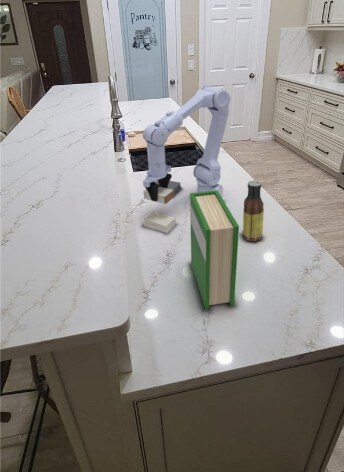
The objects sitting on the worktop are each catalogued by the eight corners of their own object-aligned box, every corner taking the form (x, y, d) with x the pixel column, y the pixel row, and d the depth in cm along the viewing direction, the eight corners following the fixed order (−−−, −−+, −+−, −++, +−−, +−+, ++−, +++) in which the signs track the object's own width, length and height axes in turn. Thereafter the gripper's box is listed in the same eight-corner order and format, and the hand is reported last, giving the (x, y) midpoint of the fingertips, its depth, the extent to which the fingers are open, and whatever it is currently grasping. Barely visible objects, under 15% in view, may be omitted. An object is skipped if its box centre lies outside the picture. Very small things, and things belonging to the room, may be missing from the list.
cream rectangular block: (176, 224, 117) (176, 217, 115) (167, 233, 112) (166, 226, 111) (153, 218, 121) (152, 211, 120) (143, 226, 117) (142, 219, 115)
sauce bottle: (263, 233, 110) (269, 180, 101) (259, 244, 105) (265, 189, 96) (244, 229, 112) (247, 177, 103) (239, 239, 107) (243, 185, 98)
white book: (174, 197, 116) (173, 189, 114) (165, 204, 112) (165, 196, 110) (152, 192, 120) (152, 184, 119) (143, 198, 116) (143, 191, 115)
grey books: (182, 189, 141) (181, 182, 140) (172, 197, 135) (171, 191, 134) (160, 184, 147) (159, 178, 145) (149, 192, 140) (148, 185, 139)
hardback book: (234, 305, 83) (239, 226, 72) (205, 309, 82) (206, 230, 71) (215, 261, 99) (217, 190, 87) (191, 264, 98) (190, 193, 87)
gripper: (158, 152, 117) (160, 186, 123) (134, 166, 106) (137, 203, 112) (175, 155, 113) (176, 190, 120) (152, 170, 103) (155, 208, 109)
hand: (159, 197), depth 116 cm, fingers closed on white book, 5 cm apart
